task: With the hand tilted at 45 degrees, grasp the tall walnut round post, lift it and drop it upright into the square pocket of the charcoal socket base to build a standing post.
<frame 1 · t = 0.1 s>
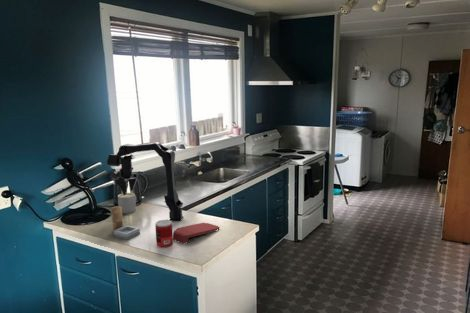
hand: (128, 192, 212), 15 cm above the counter, tool pointing down, fingers open, 9 cm apart
socket base: (127, 235, 189), on the counter
walnut post: (118, 231, 194), on the counter
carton: (196, 234, 190), on the counter
canned food: (164, 244, 177), on the counter
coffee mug: (129, 210, 228), on the counter
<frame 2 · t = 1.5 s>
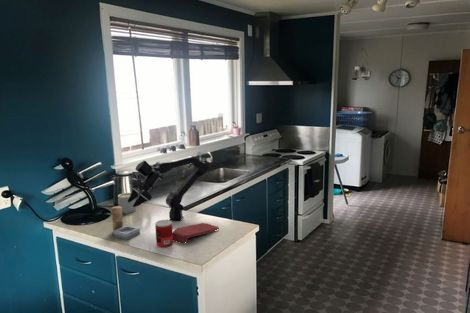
hand: (130, 204, 195), 13 cm above the counter, tool tilted 45°, fingers open, 9 cm apart
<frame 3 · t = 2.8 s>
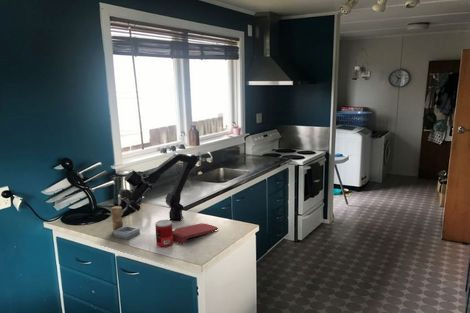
hand: (119, 214, 193), 9 cm above the counter, tool tilted 45°, fingers open, 9 cm apart
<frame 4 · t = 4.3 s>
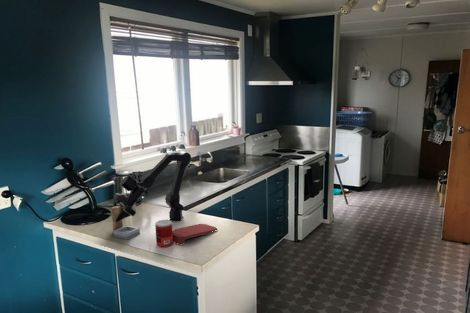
hand: (114, 219, 192), 7 cm above the counter, tool tilted 45°, fingers closed on walnut post, 5 cm apart
walnut post: (118, 231, 194), on the counter, touching gripper
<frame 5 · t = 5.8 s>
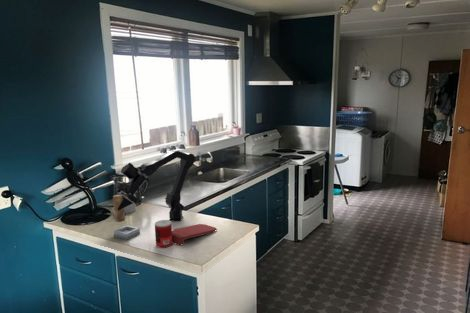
hand: (116, 208, 189), 13 cm above the counter, tool tilted 45°, fingers closed on walnut post, 5 cm apart
walnut post: (119, 220, 191), point 7 cm above the counter, touching gripper
when the fingers open (10 cm above the counter, at t = 7.3 s): walnut post drops 2 cm, resting on socket base.
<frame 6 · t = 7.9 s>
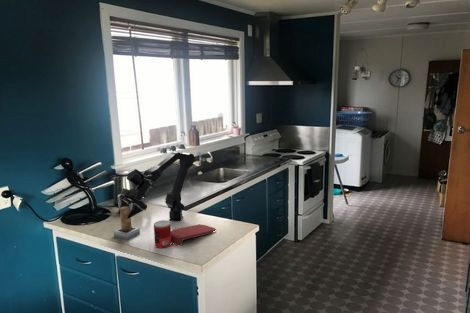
hand: (123, 216, 186), 11 cm above the counter, tool tilted 45°, fingers open, 9 cm apart
walnut post: (126, 232, 188), point 2 cm above the counter, touching socket base
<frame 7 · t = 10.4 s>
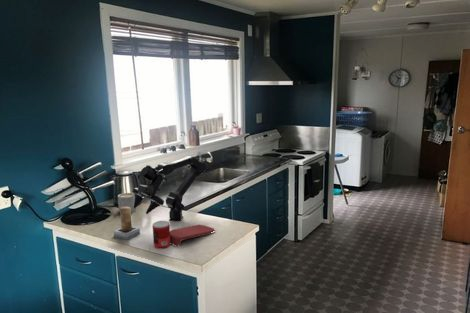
hand: (140, 210, 193), 11 cm above the counter, tool tilted 40°, fingers open, 9 cm apart
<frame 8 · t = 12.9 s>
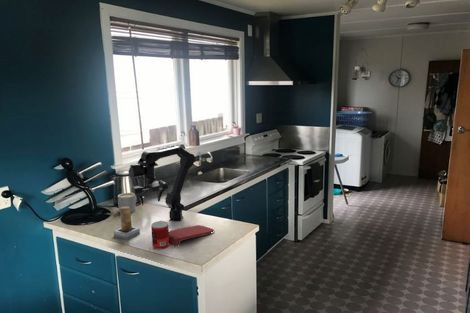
hand: (150, 203, 198), 13 cm above the counter, tool pointing down, fingers open, 9 cm apart
at the end: walnut post 0.1 cm off-centre on the socket base, point 1.5 cm above the socket base's base; walnut post tilted 0°; the gripper is holding nothing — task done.
